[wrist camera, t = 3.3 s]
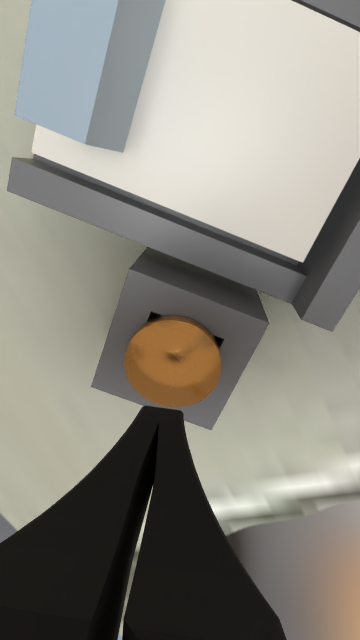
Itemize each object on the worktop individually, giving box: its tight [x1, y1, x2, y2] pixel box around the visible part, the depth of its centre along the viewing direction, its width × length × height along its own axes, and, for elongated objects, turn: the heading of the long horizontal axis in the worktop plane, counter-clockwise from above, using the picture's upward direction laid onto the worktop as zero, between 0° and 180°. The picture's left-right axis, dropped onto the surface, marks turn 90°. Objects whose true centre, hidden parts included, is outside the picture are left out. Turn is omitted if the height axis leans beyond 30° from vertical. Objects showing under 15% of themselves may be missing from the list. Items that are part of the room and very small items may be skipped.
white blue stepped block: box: [14, 0, 360, 263], centre depth 12 cm, size 12×8×8 cm, turn 69°
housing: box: [7, 0, 360, 430], centre depth 16 cm, size 16×19×5 cm
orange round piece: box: [124, 314, 221, 407], centre depth 18 cm, size 4×4×4 cm
